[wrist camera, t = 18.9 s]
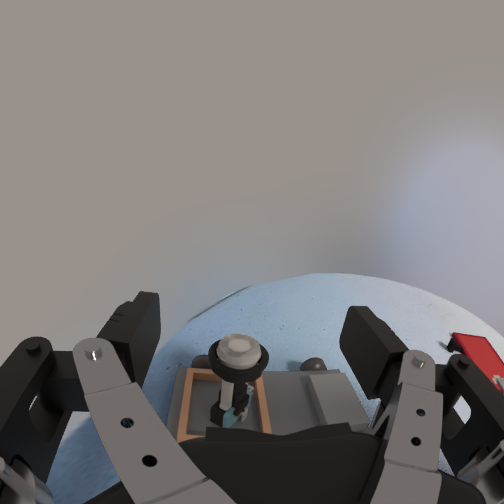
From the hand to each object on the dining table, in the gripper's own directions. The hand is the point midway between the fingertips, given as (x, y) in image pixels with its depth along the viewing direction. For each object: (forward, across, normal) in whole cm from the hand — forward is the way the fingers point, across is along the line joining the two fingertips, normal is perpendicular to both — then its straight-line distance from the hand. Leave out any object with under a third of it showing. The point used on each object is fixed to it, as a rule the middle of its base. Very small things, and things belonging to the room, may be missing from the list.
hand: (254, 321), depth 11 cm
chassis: (+10, -4, +21) cm, 24 cm away
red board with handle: (+12, -48, +22) cm, 54 cm away
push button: (+10, -1, +19) cm, 21 cm away
